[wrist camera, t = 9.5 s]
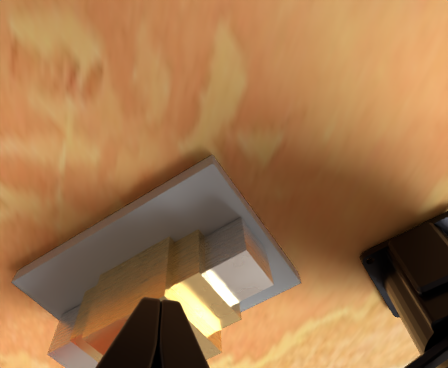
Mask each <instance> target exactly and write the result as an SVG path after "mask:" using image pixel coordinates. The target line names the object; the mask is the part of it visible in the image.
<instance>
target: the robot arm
mask: <svg viewBox="0 0 448 368" xmlns="http://www.w3.org/2000/svg"><path fill="white" fill-rule="evenodd" d="M368 258H371V259H369V260H367V259H368ZM360 260H361V262H362V264H363V266H364V267H365V269H366V271H367V272H368V274H369V276H370V277H371V279H372V281H373V282H374V284H375V286H376V287H377V289H378V290H379V292H380V294H381V295H382V297H383V299H384V300H385V302H386V304H387V305H388V307H389V309H390V310H391V312H392V314H393V315H394V316H395V317H400V318H401V320H402V321H403V323H404V325H405V327H406V329H407V331H408V332H409V334H410V336H411V338H412V340H413V342H414V344H415V345H416V347H417V349H418V351H419V353H420V356H419V357H418V358H416V359H415V360H414V361H412V362H411V363H409V364H408V365H407V366H405V367H404V368H448V211H447V212H445V213H443V214H441V215H439V216H437V217H435V218H433V219H431V220H429V221H427V222H425V223H423V224H421V225H419V226H417V227H414V228H412V229H410V230H408V231H406V232H404V233H402V234H400V235H398V236H396V237H394V238H392V239H390V240H388V241H386V242H384V243H381V244H379V245H377V246H375V247H373V248H371V249H369V250H367V251H365V252H364V253H362V254H361V256H360ZM95 368H209V365H208V363H207V361H206V359H205V356H204V354H203V352H202V350H201V348H200V345H199V343H198V341H197V339H196V336H195V334H194V332H193V330H192V328H191V325H190V323H189V321H188V319H187V316H186V314H185V312H184V310H183V308H182V305H181V303H180V302H179V301H174V300H166V299H164V300H162V301H160V299H157V298H149V297H143V298H142V299H141V300H140V301H139V303H138V304H137V306H136V307H135V309H134V310H133V312H132V313H131V315H130V316H129V318H128V319H127V321H126V322H125V324H124V325H123V327H122V328H121V330H120V331H119V333H118V334H117V336H116V337H115V339H114V340H113V342H112V343H111V345H110V346H109V348H108V349H107V351H106V352H105V354H104V355H103V357H102V358H101V360H100V361H99V363H98V364H97V366H96V367H95Z"/></svg>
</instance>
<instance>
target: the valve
mask: <svg viewBox="0 0 448 368" xmlns="http://www.w3.org/2000/svg"><path fill="white" fill-rule="evenodd" d="M273 285H274V283H273V278H272V274H271V270H270V265H269V261H268V256H267V252H266V249H265V248H264V247H263V245H262V244H261V243H260V241H259V240H258V239H257V237H256V236H255V235H254V234H253V232H252V231H251V230H250V228H249V227H248V226H247V224H246V223H245V222H244V220H243V219H242V218H239V219H237V220H235V221H233V222H232V223H230V224H228V225H226V226H224V227H222V228H221V229H219V230H217V231H215V232H213V233H211V234H210V235H208V236H206V237H205V236H204V235H203V234H202V233H201V231H200V230H199V229H198V230H196V231H194V232H192V233H190V234H189V235H187V236H185V237H183V238H181V239H180V240H178V241H176V242H174V241H173V239H172V238H171V237H170V236H169V237H167V238H166V239H164V240H162V241H160V242H159V243H157V244H155V245H153V246H151V247H150V248H148V249H146V250H144V251H142V252H141V253H139V254H137V255H135V256H133V257H132V258H130V259H128V260H126V261H125V262H123V263H121V264H119V265H117V266H116V267H114V268H112V269H110V270H108V271H107V272H105V273H103V274H101V275H100V277H99V280H98V284H97V285H96V286H95V287H93V288H91V289H89V290H87V291H86V292H85V293H84V296H83V299H82V302H81V305H79V306H78V307H76V308H74V309H72V310H70V311H68V312H67V313H65V314H63V315H61V317H60V320H59V323H58V326H57V328H56V331H55V334H54V337H53V340H52V342H51V345H50V348H49V351H48V354H47V355H49V356H50V357H52V358H53V359H54V360H56V361H57V362H58V363H60V364H61V365H63V366H64V367H65V368H95V367H96V366H97V364H98V363H99V361H100V360H101V358H102V357H103V355H104V354H105V352H106V351H107V349H108V348H109V346H110V345H111V343H112V342H113V340H114V339H115V337H116V336H117V334H118V333H119V331H120V330H121V328H122V327H123V325H124V324H125V322H126V321H127V319H128V318H129V316H130V315H131V313H132V312H133V310H134V309H135V307H136V306H137V304H138V303H139V301H140V300H141V299H142V298H143V297H149V298H157V299H160V301H162V300H164V299H166V300H174V301H179V302H180V303H181V305H182V308H183V310H184V312H185V314H186V316H187V319H188V321H189V323H190V325H191V328H192V330H193V332H194V334H195V336H196V339H197V341H198V343H199V345H200V348H201V350H202V352H203V354H204V356H205V359H206V360H207V359H209V358H211V357H214V356H216V355H218V354H220V353H222V347H221V331H220V329H223V328H225V327H227V326H229V325H231V324H233V323H235V322H237V321H239V320H241V312H240V303H239V302H240V301H242V300H244V299H246V298H248V297H250V296H252V295H254V294H256V293H258V292H260V291H262V290H264V289H266V288H269V287H271V286H273Z"/></svg>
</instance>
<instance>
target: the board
mask: <svg viewBox="0 0 448 368" xmlns="http://www.w3.org/2000/svg"><path fill="white" fill-rule="evenodd" d="M239 218H242V219H243V220H244V222H245V223H246V224H247V226H248V227H249V228H250V230H251V231H252V232H253V234H254V235H255V236H256V237H257V239H258V240H259V241H260V243H261V244H262V245H263V247H264V248H265V249H266V252H267V256H268V261H269V265H270V270H271V274H272V278H273V283H274V285H273V286H271V287H269V288H266V289H264V290H262V291H260V292H258V293H256V294H254V295H252V296H250V297H248V298H246V299H244V300H242V301H240V302H239V303H240V312H242V311H245V310H247V309H249V308H251V307H253V306H255V305H257V304H259V303H261V302H263V301H265V300H267V299H269V298H271V297H273V296H275V295H278V294H280V293H282V292H284V291H286V290H288V289H290V288H292V287H294V286H296V285H298V284H300V283H301V281H300V277H299V274H298V271H297V270H296V269H295V267H294V266H293V265H292V263H291V262H290V260H289V259H288V258H287V256H286V255H285V254H284V252H283V251H282V249H281V248H280V247H279V245H278V244H277V243H276V241H275V240H274V238H273V237H272V236H271V234H270V233H269V232H268V230H267V229H266V227H265V226H264V225H263V223H262V222H261V221H260V219H259V218H258V216H257V215H256V214H255V212H254V211H253V210H252V208H251V207H250V206H249V204H248V203H247V201H246V200H245V199H244V197H243V196H242V195H241V193H240V192H239V190H238V189H237V188H236V186H235V185H234V184H233V182H232V181H231V179H230V178H229V177H228V175H227V174H226V173H225V171H224V170H223V168H222V167H221V166H220V164H219V163H218V162H217V160H216V159H215V157H214V156H213V155H211V156H209V157H207V158H206V159H204V160H202V161H201V162H199V163H197V164H196V165H194V166H192V167H191V168H189V169H187V170H186V171H184V172H182V173H180V174H179V175H177V176H175V177H174V178H172V179H170V180H169V181H167V182H165V183H164V184H162V185H160V186H159V187H157V188H155V189H154V190H152V191H150V192H149V193H147V194H145V195H144V196H142V197H140V198H139V199H137V200H135V201H134V202H132V203H130V204H129V205H127V206H125V207H123V208H122V209H120V210H118V211H117V212H115V213H113V214H112V215H110V216H108V217H107V218H105V219H103V220H102V221H100V222H98V223H97V224H95V225H93V226H92V227H90V228H88V229H87V230H85V231H83V232H82V233H80V234H78V235H77V236H75V237H73V238H71V239H70V240H68V241H66V242H65V243H63V244H61V245H60V246H58V247H56V248H55V249H53V250H51V251H50V252H48V253H46V254H45V255H43V256H41V257H40V258H38V259H36V260H35V261H33V262H31V263H30V264H28V265H26V266H25V267H23V268H21V269H19V270H18V271H17V273H16V275H15V276H14V278H13V280H12V282H11V283H13V284H14V285H15V286H16V287H18V288H19V289H20V290H22V291H23V292H24V293H25V294H27V295H28V296H29V297H30V298H32V299H33V300H34V301H35V302H37V303H38V304H39V305H40V306H42V307H43V308H44V309H45V310H47V311H48V312H49V313H51V314H52V315H53V316H54V317H56V318H57V319H58V320H60V317H61V315H63V314H65V313H67V312H68V311H70V310H72V309H74V308H76V307H78V306H79V305H81V302H82V299H83V296H84V293H85V292H86V291H87V290H89V289H91V288H93V287H95V286H96V285H97V284H98V280H99V277H100V275H101V274H103V273H105V272H107V271H108V270H110V269H112V268H114V267H116V266H117V265H119V264H121V263H123V262H125V261H126V260H128V259H130V258H132V257H133V256H135V255H137V254H139V253H141V252H142V251H144V250H146V249H148V248H150V247H151V246H153V245H155V244H157V243H159V242H160V241H162V240H164V239H166V238H167V237H169V236H170V237H171V238H172V239H173V241H174V242H176V241H178V240H180V239H181V238H183V237H185V236H187V235H189V234H190V233H192V232H194V231H196V230H198V229H199V230H200V231H201V233H202V234H203V235H204V236H205V237H206V236H208V235H210V234H211V233H213V232H215V231H217V230H219V229H221V228H222V227H224V226H226V225H228V224H230V223H232V222H233V221H235V220H237V219H239Z"/></svg>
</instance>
